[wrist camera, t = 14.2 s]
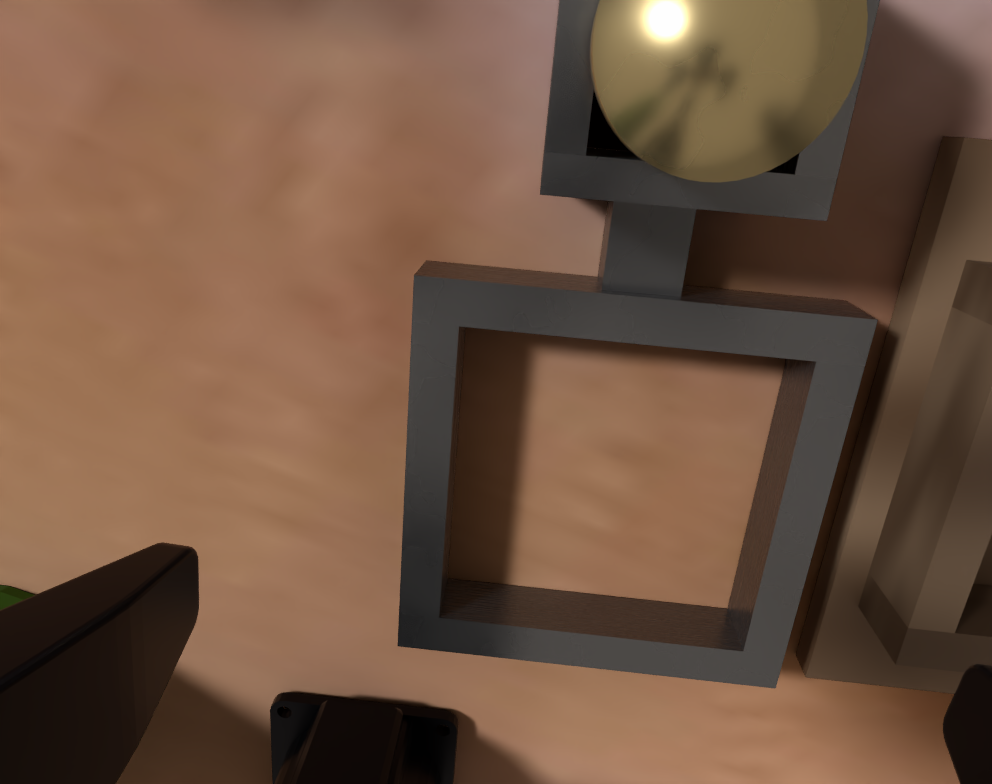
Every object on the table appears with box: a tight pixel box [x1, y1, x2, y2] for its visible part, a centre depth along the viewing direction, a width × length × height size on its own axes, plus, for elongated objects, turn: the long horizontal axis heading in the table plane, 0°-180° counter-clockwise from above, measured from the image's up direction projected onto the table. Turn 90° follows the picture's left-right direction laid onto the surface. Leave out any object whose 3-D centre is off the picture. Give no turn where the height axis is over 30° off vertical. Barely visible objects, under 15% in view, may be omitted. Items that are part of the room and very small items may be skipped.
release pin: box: [590, 0, 868, 182], centre depth 15 cm, size 4×4×6 cm
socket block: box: [398, 0, 880, 688], centre depth 18 cm, size 20×11×5 cm, turn 175°
